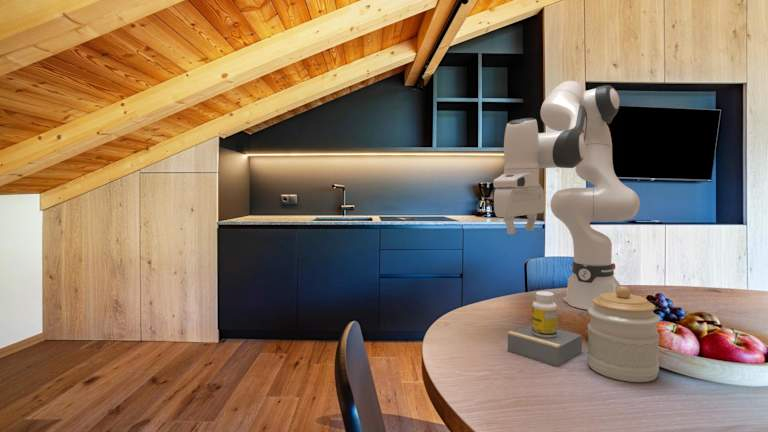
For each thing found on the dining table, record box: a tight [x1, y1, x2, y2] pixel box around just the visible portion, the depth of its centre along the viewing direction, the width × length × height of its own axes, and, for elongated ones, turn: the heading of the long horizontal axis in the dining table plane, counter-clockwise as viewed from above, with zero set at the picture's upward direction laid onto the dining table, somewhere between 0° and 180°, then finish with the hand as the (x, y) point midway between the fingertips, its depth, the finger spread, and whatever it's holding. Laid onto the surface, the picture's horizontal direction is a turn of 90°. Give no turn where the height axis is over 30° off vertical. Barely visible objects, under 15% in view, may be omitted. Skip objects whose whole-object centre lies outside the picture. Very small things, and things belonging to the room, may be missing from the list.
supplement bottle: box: [531, 290, 558, 338], centre depth 95 cm, size 5×5×10 cm
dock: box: [507, 323, 583, 367], centre depth 95 cm, size 12×12×4 cm
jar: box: [586, 285, 661, 383], centre depth 85 cm, size 13×13×18 cm
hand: (520, 232), depth 109 cm, fingers open, 8 cm apart
